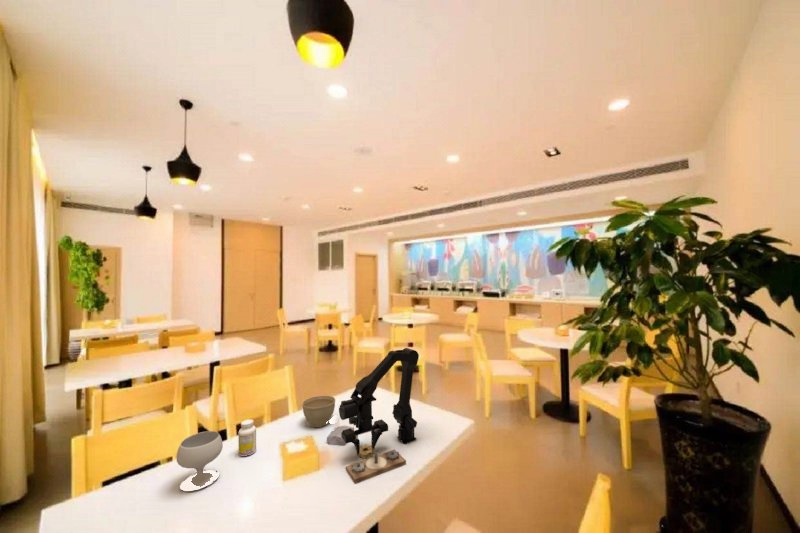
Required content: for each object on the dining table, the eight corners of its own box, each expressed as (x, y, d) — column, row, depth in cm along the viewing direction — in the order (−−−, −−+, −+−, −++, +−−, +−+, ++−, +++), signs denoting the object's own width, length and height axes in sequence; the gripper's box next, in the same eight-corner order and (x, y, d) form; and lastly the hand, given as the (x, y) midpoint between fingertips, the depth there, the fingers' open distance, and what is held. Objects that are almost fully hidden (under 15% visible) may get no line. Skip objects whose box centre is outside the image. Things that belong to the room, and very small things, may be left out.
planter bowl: (342, 420, 155) (342, 398, 155) (318, 434, 141) (317, 410, 141) (320, 413, 163) (320, 393, 164) (295, 426, 150) (295, 403, 150)
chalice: (172, 500, 100) (172, 453, 100) (180, 476, 112) (180, 435, 113) (221, 486, 106) (221, 442, 107) (223, 465, 119) (223, 426, 119)
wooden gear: (369, 447, 129) (369, 443, 129) (377, 456, 122) (377, 451, 122) (354, 453, 125) (354, 448, 125) (360, 461, 119) (360, 456, 119)
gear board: (394, 453, 124) (394, 439, 125) (405, 464, 117) (405, 449, 117) (345, 470, 114) (345, 455, 114) (354, 483, 106) (354, 467, 106)
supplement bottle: (246, 447, 131) (246, 417, 131) (259, 449, 129) (259, 418, 130) (234, 456, 124) (234, 424, 125) (248, 458, 123) (248, 426, 123)
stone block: (325, 449, 132) (346, 446, 130) (323, 437, 132) (344, 434, 131) (336, 436, 143) (356, 433, 142) (334, 426, 144) (354, 423, 142)
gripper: (376, 401, 136) (377, 436, 135) (336, 411, 127) (337, 449, 126) (388, 410, 127) (389, 448, 126) (345, 421, 117) (346, 463, 116)
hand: (365, 451), depth 124 cm, fingers closed on wooden gear, 6 cm apart
